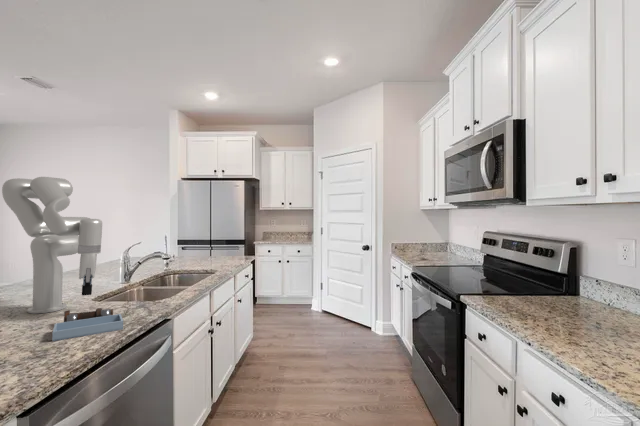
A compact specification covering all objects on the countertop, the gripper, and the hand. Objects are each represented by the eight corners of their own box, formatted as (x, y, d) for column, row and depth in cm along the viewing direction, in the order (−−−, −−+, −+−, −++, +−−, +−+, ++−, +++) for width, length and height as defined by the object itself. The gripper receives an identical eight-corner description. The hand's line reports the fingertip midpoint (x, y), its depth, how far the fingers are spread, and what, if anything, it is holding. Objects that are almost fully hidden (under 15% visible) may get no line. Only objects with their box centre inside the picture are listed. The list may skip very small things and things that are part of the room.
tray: (54, 332, 109) (54, 323, 109) (120, 321, 121) (120, 313, 121) (52, 341, 101) (52, 332, 101) (123, 329, 113) (123, 320, 113)
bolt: (112, 323, 125) (63, 329, 115) (111, 313, 128) (64, 319, 119) (113, 312, 122) (63, 317, 113) (113, 302, 126) (64, 307, 117)
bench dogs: (66, 327, 114) (67, 314, 114) (110, 320, 122) (110, 308, 122) (66, 329, 112) (66, 316, 112) (110, 322, 120) (110, 310, 120)
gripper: (78, 247, 132) (75, 291, 132) (77, 252, 120) (74, 300, 120) (100, 246, 136) (97, 289, 137) (101, 251, 124) (98, 298, 125)
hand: (86, 294), depth 128 cm, fingers closed
